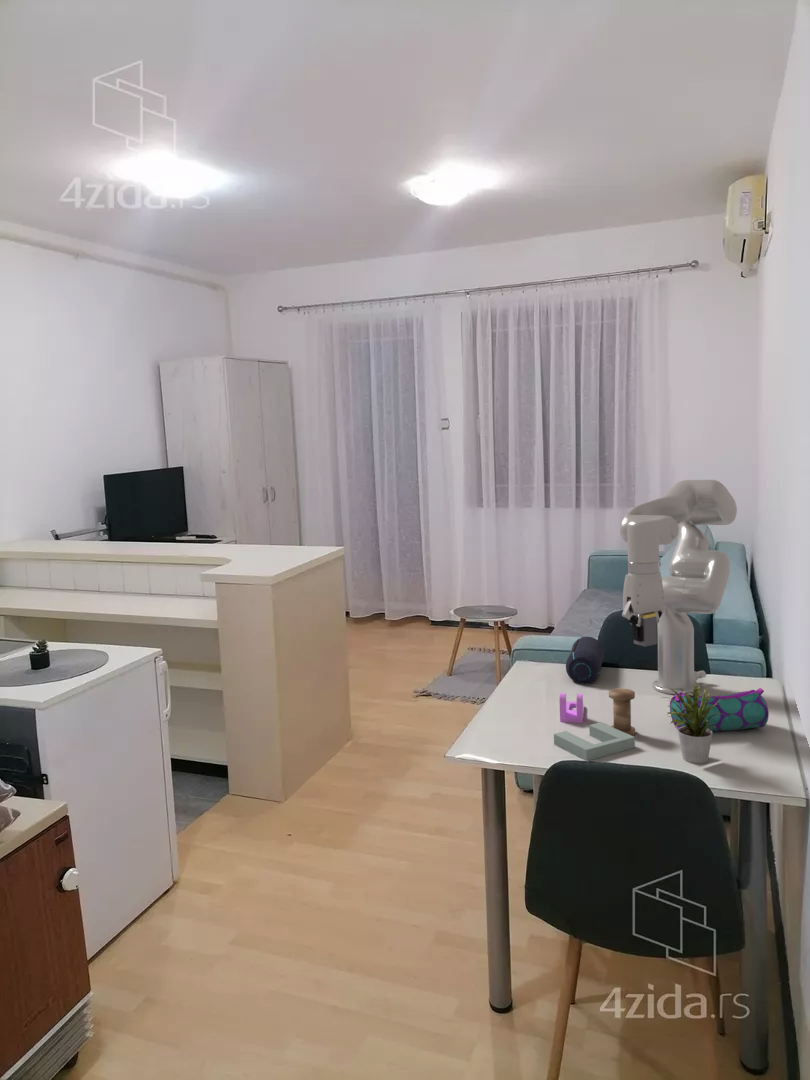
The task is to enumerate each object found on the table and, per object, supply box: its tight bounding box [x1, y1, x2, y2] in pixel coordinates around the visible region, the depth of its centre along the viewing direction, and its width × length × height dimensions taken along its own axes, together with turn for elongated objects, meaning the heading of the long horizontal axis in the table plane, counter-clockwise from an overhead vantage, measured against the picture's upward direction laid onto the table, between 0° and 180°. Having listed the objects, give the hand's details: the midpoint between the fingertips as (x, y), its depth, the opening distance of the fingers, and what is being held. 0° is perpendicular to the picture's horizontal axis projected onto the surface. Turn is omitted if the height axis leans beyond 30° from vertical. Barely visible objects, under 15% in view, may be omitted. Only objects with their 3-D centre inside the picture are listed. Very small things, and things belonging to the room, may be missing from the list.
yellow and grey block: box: [633, 612, 658, 648], centre depth 194 cm, size 4×4×8 cm
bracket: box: [559, 692, 585, 724], centre depth 198 cm, size 13×6×7 cm, turn 165°
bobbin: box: [608, 688, 636, 737], centre depth 183 cm, size 6×6×10 cm
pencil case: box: [669, 687, 770, 732], centre depth 183 cm, size 21×9×10 cm, turn 91°
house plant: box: [662, 682, 724, 765], centre depth 167 cm, size 14×14×16 cm
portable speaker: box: [565, 636, 605, 685], centre depth 231 cm, size 25×10×10 cm, turn 162°
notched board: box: [553, 721, 636, 761], centre depth 176 cm, size 14×12×2 cm
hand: (645, 638), depth 194 cm, fingers closed on yellow and grey block, 4 cm apart
